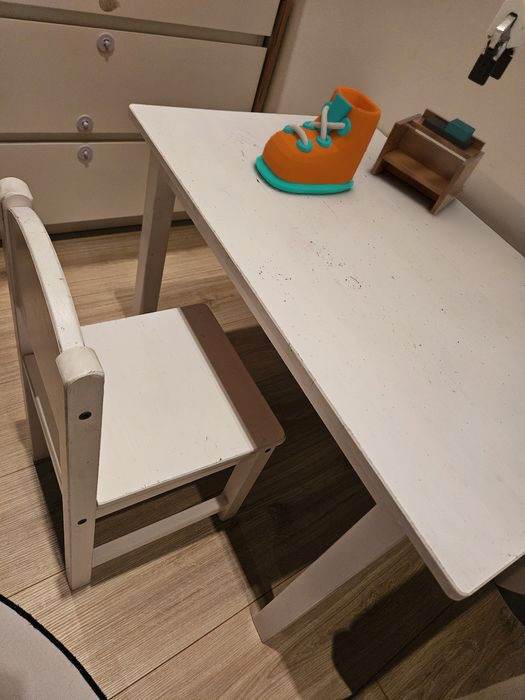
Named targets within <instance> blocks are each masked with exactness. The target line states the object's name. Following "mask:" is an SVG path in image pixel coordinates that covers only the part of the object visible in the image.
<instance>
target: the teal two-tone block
mask: <svg viewBox="0 0 525 700" xmlns="http://www.w3.org/2000/svg"><path fill="white" fill-rule="evenodd" d="M449 121H450V122H449V123H448V124H446V123H444V122H443V121H441V120H439V119H438V118H436V117H434V116H430V117H428V118H425V119H424V121H423V123H422V125H423V126H425V127H426V128H428V129H430V130H431V131H433V132H434V133H436V134H438V135H439V136H441V137H443V138H444V139H446V140H448V141H449V142H451V143H453V144H454V145H456V146H457V147H459V148H461V149H462V150H465V149H467V148H469V147H470V146H471V145H472V144H473V142H474V140H473V139H471V136H472V135H474V133H475V131H476V128H475V127H473V126H471V125H469V123H466V122H465V121H463V120H461V119H460V118H458V117H456V118H454V119H452V120H449Z"/></svg>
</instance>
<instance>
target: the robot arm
mask: <svg viewBox="0 0 525 700" xmlns="http://www.w3.org/2000/svg"><path fill="white" fill-rule="evenodd" d="M485 38H486V39H488V40H487V42H486V45H485V46H484V48H483V49H482V50H481V53H480V54H479V56H478V57H477V60H476V61H475V63H474V65H473V66H472V69H471V70H470V72H469V73H468V76H467V79H468V80H469V81H471V82H473V83H475V84H477V85H479V86H480V87H483V86H485V85H486V83H487V81H488V80H489V78H490V77H491V78H492V79H495V80H501V78H502V76H504V73H505V72H506V70H507V68H508V67H509V65H510V63H511V62H512V60H513V59H514V56H515V54H516V53H517V50H518V49H519V47H520V46H522V45H523V44H524V43H525V0H504V1H503V3H502V5H500V8H499V10H498V12H497V14H496V15H495V17H494V18H493V20H492V21H491V23H490V25H489V27H488V28H487V30H486V32H485Z"/></svg>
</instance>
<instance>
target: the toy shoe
mask: <svg viewBox="0 0 525 700" xmlns="http://www.w3.org/2000/svg"><path fill="white" fill-rule="evenodd" d="M381 115H382V111H381V109H380V107H379V106H378V105H377V104H376V103H375V102H374V101H373V100H372V99H370V97H368V96H367V95H366V94H365V93H363V92H362V91H361V90H358V89H357V88H353V87H349V86H344V85H343V86H338V87H336V88H335V90H334V91H333V93H332V95H331V97H330V98H329V100H328V101H327V102H325V103H324V104H323V106H322V107H321V111H320V114H319V115H318V116H317V117H316V118H315V119H314V120H306V121H304V122H303V123H302V125H298V124H287V125H285V126H284V127H283V129H281V130H279V131H276V132H275V133H274V134H272V135H271V136H270V137H269V139H268V140H267V141H266V143H265V144H264V147H263V150H262V153H261V154H260V155H258V156H256V159H255V166H256V168H257V171H258V172H259V173H260V175H261V177H262V178H263V179H264V180H265V181H266V182H267V183H268V184H269V185H271V186H272V187H273V188H275V189H278V190H280V191H283V192H286V193H293V194H307V195H309V194H310V195H311V194H312V195H316V194H317V195H318V194H319V195H321V194H323V195H324V194H334V193H341V192H345V191H347V190H349V189H351V188H352V187H353V186H354V185H355V182H354V177H355V175H356V172H357V171H358V168H359V166H360V164H361V162H362V161H363V158H364V156H365V153H366V152H367V150H368V147H369V145H370V143H371V141H372V139H373V137H374V134H375V133H376V130H377V129H378V125H379V123H380V120H381Z"/></svg>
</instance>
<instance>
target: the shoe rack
mask: <svg viewBox="0 0 525 700" xmlns="http://www.w3.org/2000/svg"><path fill="white" fill-rule="evenodd" d="M430 116H434V117H436V118H438V119H439V120H441V121H443V122H444V123H446V124H448V123H449V122H450V121H451V120H449V119H447V118H445V117H444V116H442V115H440V114H438V113H437V112H436V111H434V110H432V109H430V108H429V107H426V109H425V110H424V112H423V113H417V114H414V115H411V116H409V117H406V118H403V119H401V120H398V121H396V122H395V123H394V124H393V126H392V128H391V130H390V132H389V134H388V136H387V138H386V141H384V144H383V146H382V148H381V150H380V152H379V154H378V156H377V158H376V160H375V162H374V164H373V166H372V168H371V169H370V172H369V173H370V174H371V175H373V176H375V175H377V174H380V173H381V172H383V171H385V170H386V171H387V172H389V173H391V174H393V175H394V176H395V177H397V178H398V179H400V180H402V181H403V182H405V183H406V184H407V185H409V186H411V187H412V188H414V189H415V190H417V191H418V192H420V193H422V194H423V195H425V196H426V197H428V198H429V199H430V200H432V201H434V202H435V203H434V204H433V206H432V208H431V209H430V210H429V213H430V214H431V215H433V216H434V215H435V214H437V213H438V212H439V211H441V210H442V209H443V208H445V207H446V206H447V205H448V204H450V203H451V202H452V201H454V200H455V198H456V197H457V195H458V194H459V193H460V191H461V189H462V188H463V186H464V185H465V184H466V182H467V180H468V179H469V178H470V176H471V175H472V173H473V172H474V171H475V169H476V168H477V166H478V165H479V163H480V161H481V160H482V159H483V157H484V156H485V154H486V152H484V151H483V148H484V147H485V145H486V144H487V143H486V141H484V140H483V139H481V138H479V137H477V136H476V135H474V134H473V135H472V136H471V139H473V140H474V142H473V144H472V145H471V146H470V147H469V148H467V149H465V150H462V149H461V148H459V147H457V146H456V145H454V144H453V143H451V142H449V141H448V140H446V139H444V138H443V137H441V136H439V135H438V134H436V133H434V132H433V131H431V130H430V129H428V128H426V127H425V126H423V125H422V123H423V121H424V119H425V118H428V117H430ZM416 130H418V131H419V132H420V133H419V132H418V131H416ZM422 134H424V135H426V136H427V137H426V136H424V135H422ZM428 137H429V138H430V139H429V138H428ZM431 139H432V140H431ZM433 140H434V141H435V142H434V141H433ZM436 142H437V143H436ZM438 143H439V144H438ZM441 145H442V146H441ZM443 147H445V148H447V149H448V150H447V149H445V148H443ZM449 150H450V151H451V152H450V151H449ZM452 152H453V153H452ZM454 153H455V154H456V155H455V154H454ZM457 155H458V156H459V157H458V156H457ZM460 157H461V158H460ZM462 158H463V159H462Z"/></svg>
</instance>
